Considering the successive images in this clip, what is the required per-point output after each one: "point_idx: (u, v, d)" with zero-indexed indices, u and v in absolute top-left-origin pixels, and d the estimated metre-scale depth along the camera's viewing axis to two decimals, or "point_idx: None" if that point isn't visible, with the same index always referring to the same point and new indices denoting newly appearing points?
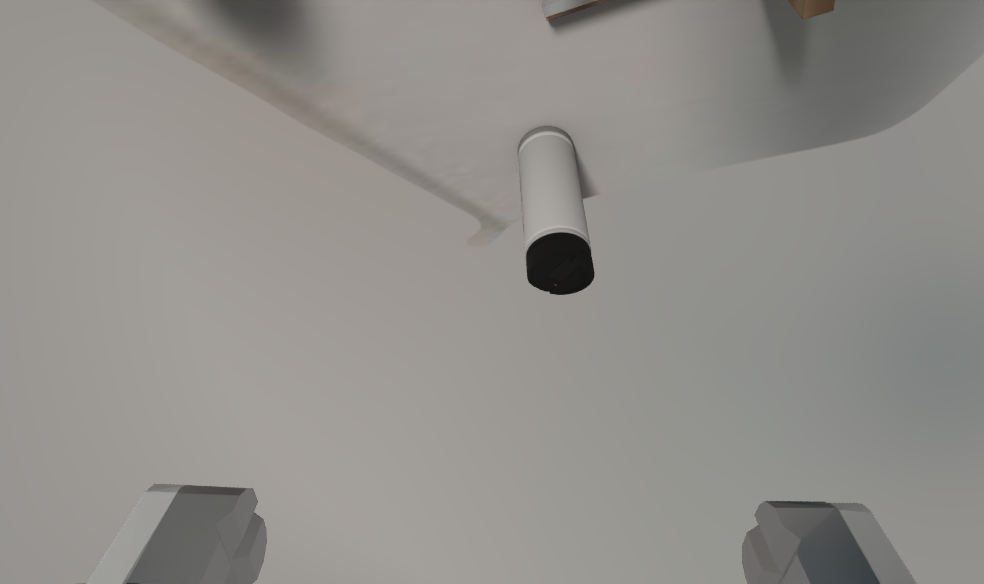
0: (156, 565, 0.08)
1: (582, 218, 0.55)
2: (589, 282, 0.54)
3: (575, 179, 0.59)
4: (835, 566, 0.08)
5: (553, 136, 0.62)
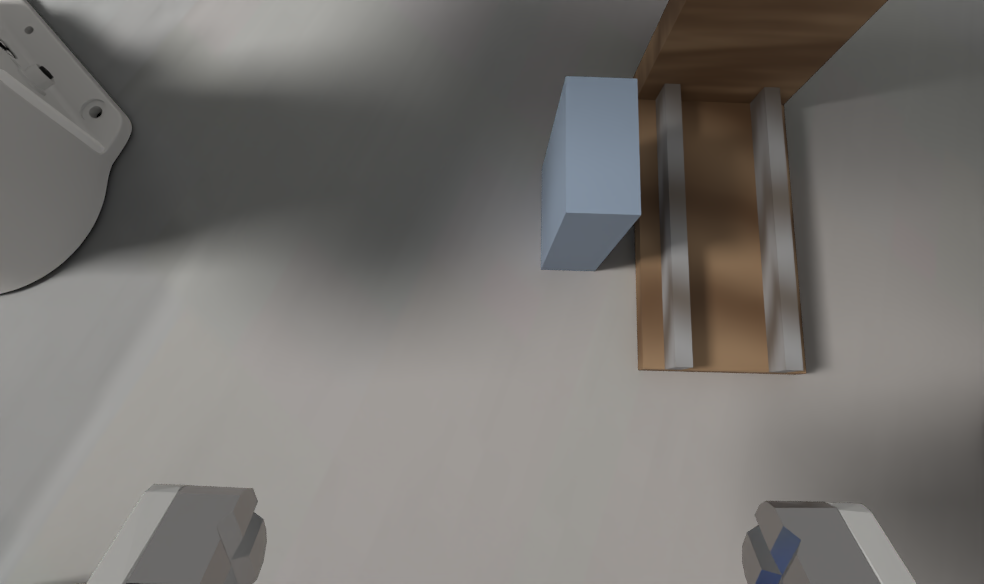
0: (156, 565, 0.08)
1: None
2: None
3: None
4: (835, 566, 0.08)
5: None
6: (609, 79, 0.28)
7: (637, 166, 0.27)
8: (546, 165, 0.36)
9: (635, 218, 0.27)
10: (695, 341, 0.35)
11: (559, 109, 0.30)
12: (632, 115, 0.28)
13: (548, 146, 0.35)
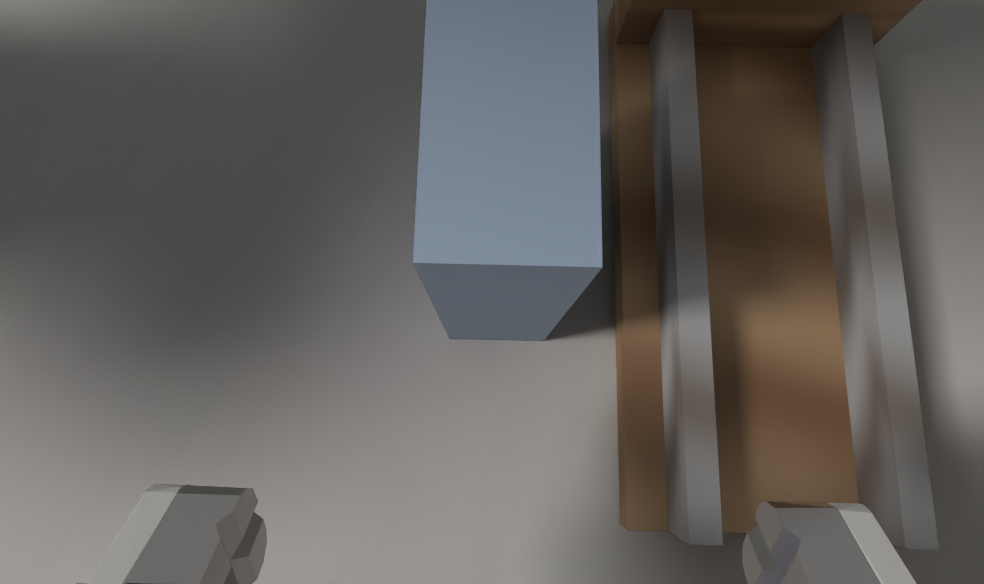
0: (156, 565, 0.08)
1: None
2: None
3: None
4: (835, 566, 0.08)
5: None
6: None
7: (593, 146, 0.11)
8: None
9: (590, 273, 0.11)
10: (724, 476, 0.19)
11: None
12: (583, 26, 0.12)
13: None
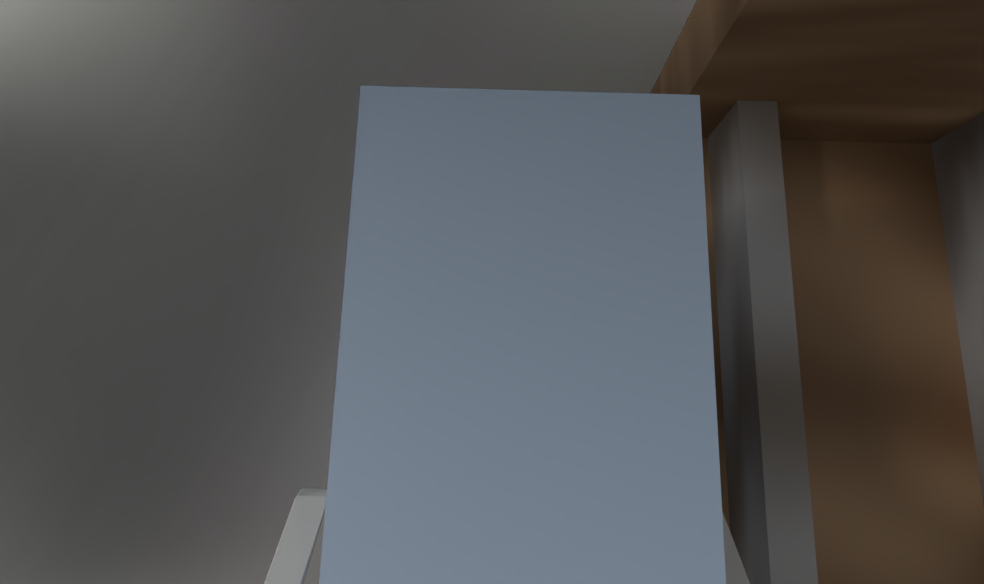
0: None
1: None
2: None
3: None
4: None
5: None
6: (565, 100, 0.06)
7: (712, 576, 0.05)
8: None
9: None
10: None
11: None
12: (679, 280, 0.06)
13: None
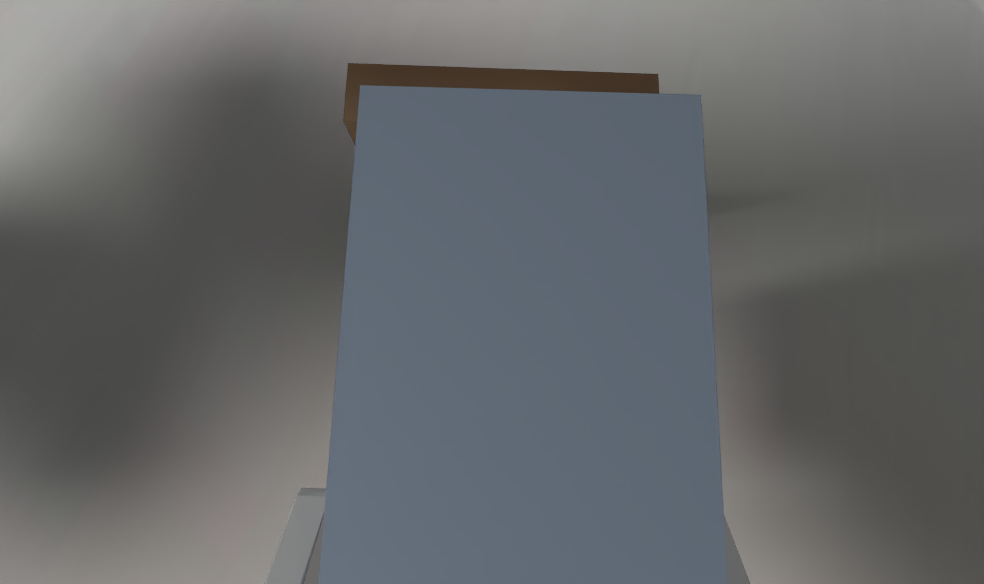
0: None
1: None
2: None
3: None
4: None
5: None
6: (567, 100, 0.06)
7: (713, 579, 0.05)
8: None
9: None
10: None
11: None
12: (680, 281, 0.05)
13: None
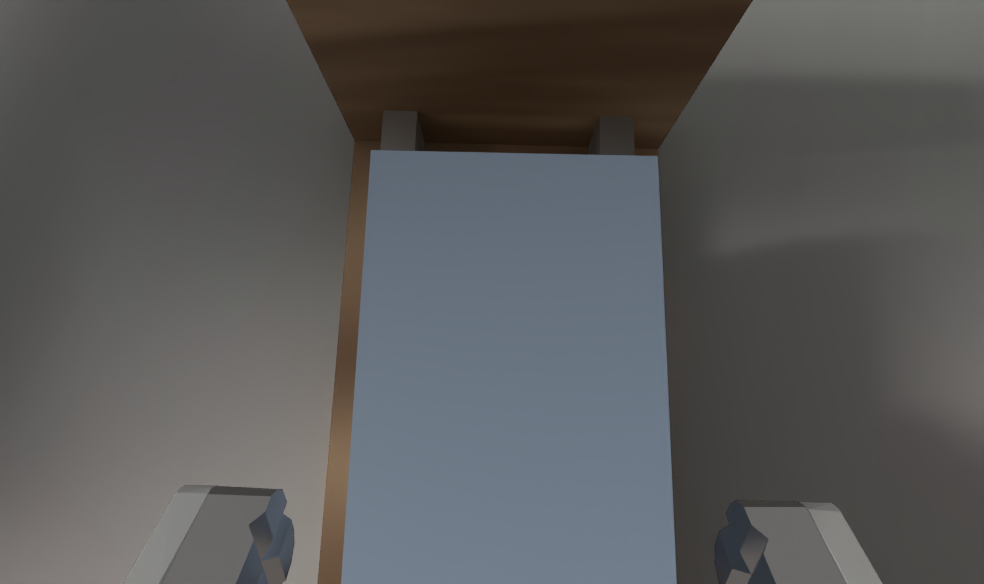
0: (191, 566, 0.08)
1: None
2: None
3: None
4: (801, 565, 0.08)
5: None
6: (545, 161, 0.07)
7: (663, 562, 0.06)
8: None
9: None
10: None
11: None
12: (639, 315, 0.07)
13: None
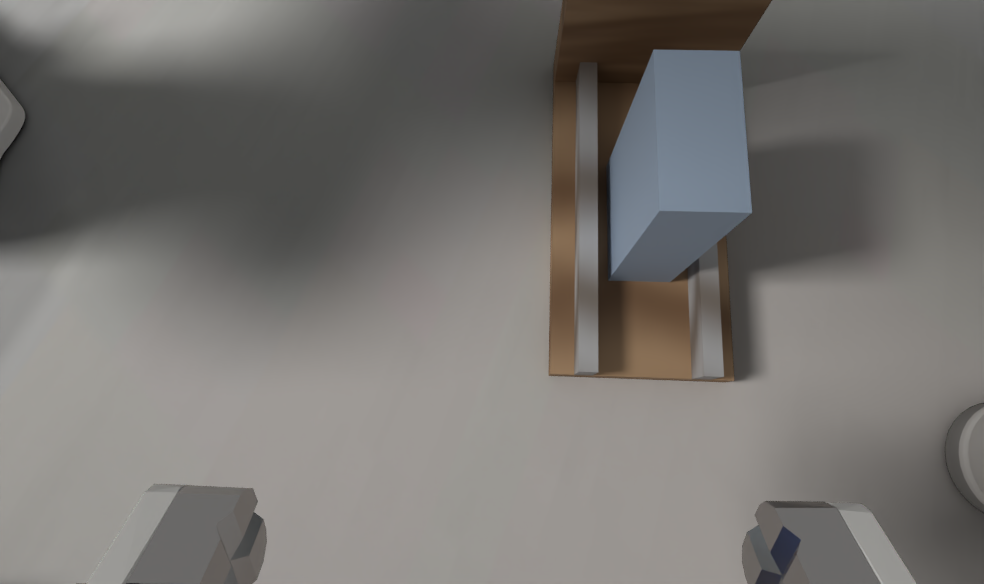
0: (156, 565, 0.08)
1: None
2: None
3: None
4: (835, 566, 0.08)
5: (975, 431, 0.30)
6: (706, 52, 0.23)
7: (744, 154, 0.22)
8: (615, 161, 0.31)
9: (743, 217, 0.22)
10: (609, 344, 0.32)
11: (640, 91, 0.26)
12: (735, 94, 0.23)
13: (619, 139, 0.30)
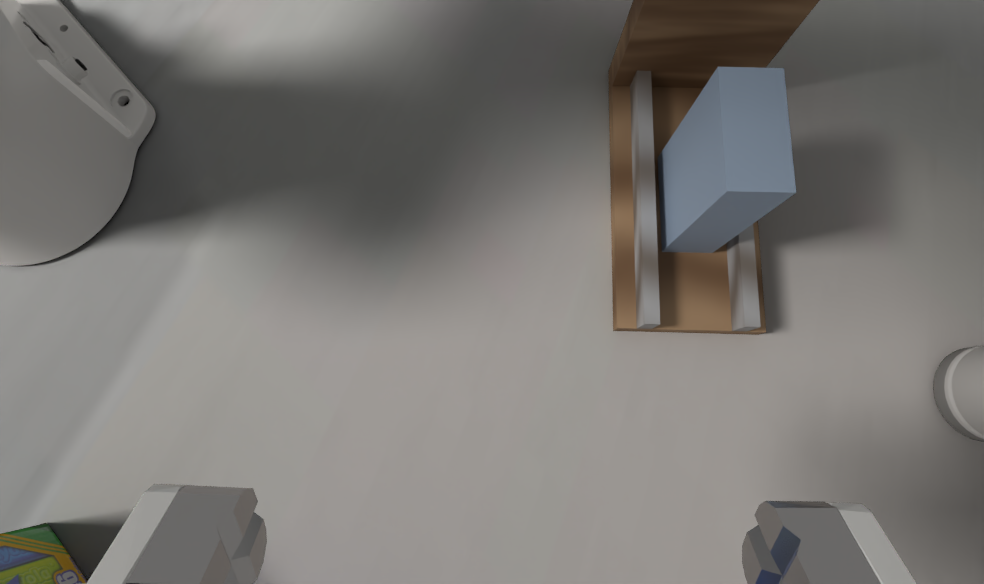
0: (156, 565, 0.08)
1: None
2: None
3: None
4: (835, 566, 0.08)
5: (957, 369, 0.37)
6: (758, 69, 0.30)
7: (789, 148, 0.29)
8: (670, 153, 0.38)
9: (788, 196, 0.29)
10: (664, 303, 0.39)
11: (702, 98, 0.32)
12: (781, 101, 0.30)
13: (674, 135, 0.37)
